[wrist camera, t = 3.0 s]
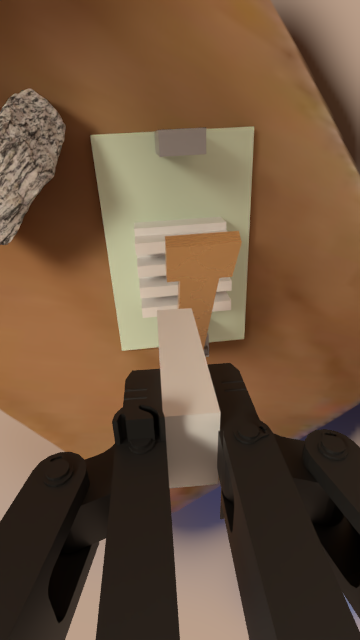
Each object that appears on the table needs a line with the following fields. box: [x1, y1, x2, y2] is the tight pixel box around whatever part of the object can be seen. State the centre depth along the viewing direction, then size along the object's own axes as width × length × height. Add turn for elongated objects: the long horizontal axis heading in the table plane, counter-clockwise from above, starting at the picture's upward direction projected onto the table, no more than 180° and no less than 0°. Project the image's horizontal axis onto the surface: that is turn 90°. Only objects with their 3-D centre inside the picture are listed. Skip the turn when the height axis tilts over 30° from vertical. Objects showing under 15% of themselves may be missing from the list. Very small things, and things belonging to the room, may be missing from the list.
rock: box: [0, 88, 66, 245], centre depth 33 cm, size 16×8×10 cm, turn 133°
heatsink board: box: [90, 127, 254, 357], centre depth 39 cm, size 17×26×9 cm, turn 3°
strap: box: [165, 231, 242, 356], centre depth 32 cm, size 21×5×1 cm
